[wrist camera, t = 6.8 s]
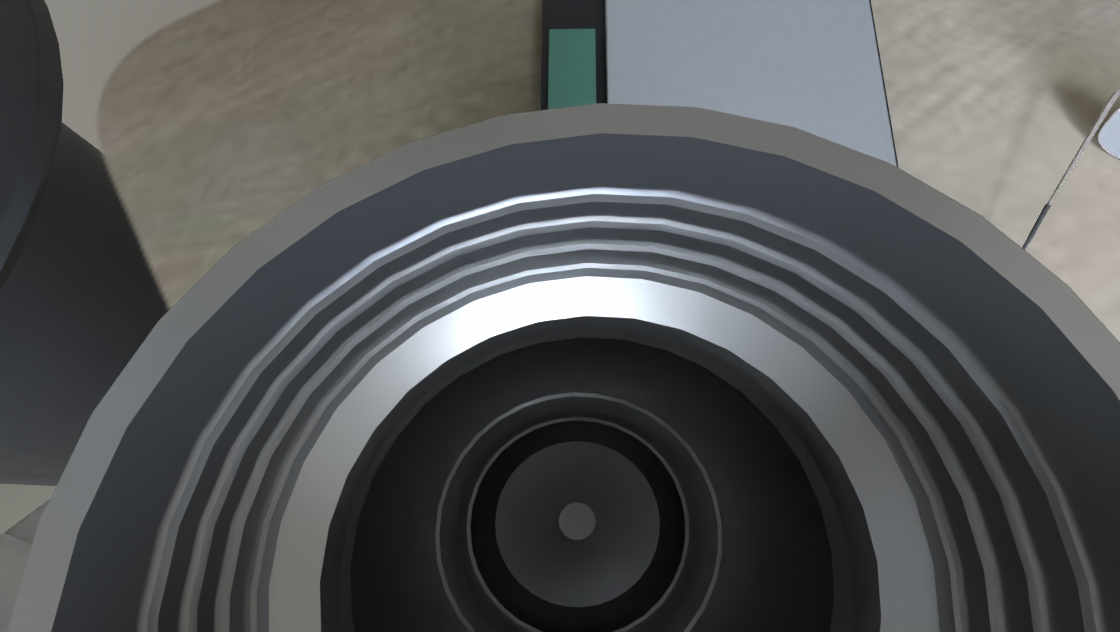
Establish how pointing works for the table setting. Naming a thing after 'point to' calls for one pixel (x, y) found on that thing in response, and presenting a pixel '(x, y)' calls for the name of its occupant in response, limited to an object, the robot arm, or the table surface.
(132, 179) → the table surface
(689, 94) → the scale
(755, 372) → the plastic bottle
